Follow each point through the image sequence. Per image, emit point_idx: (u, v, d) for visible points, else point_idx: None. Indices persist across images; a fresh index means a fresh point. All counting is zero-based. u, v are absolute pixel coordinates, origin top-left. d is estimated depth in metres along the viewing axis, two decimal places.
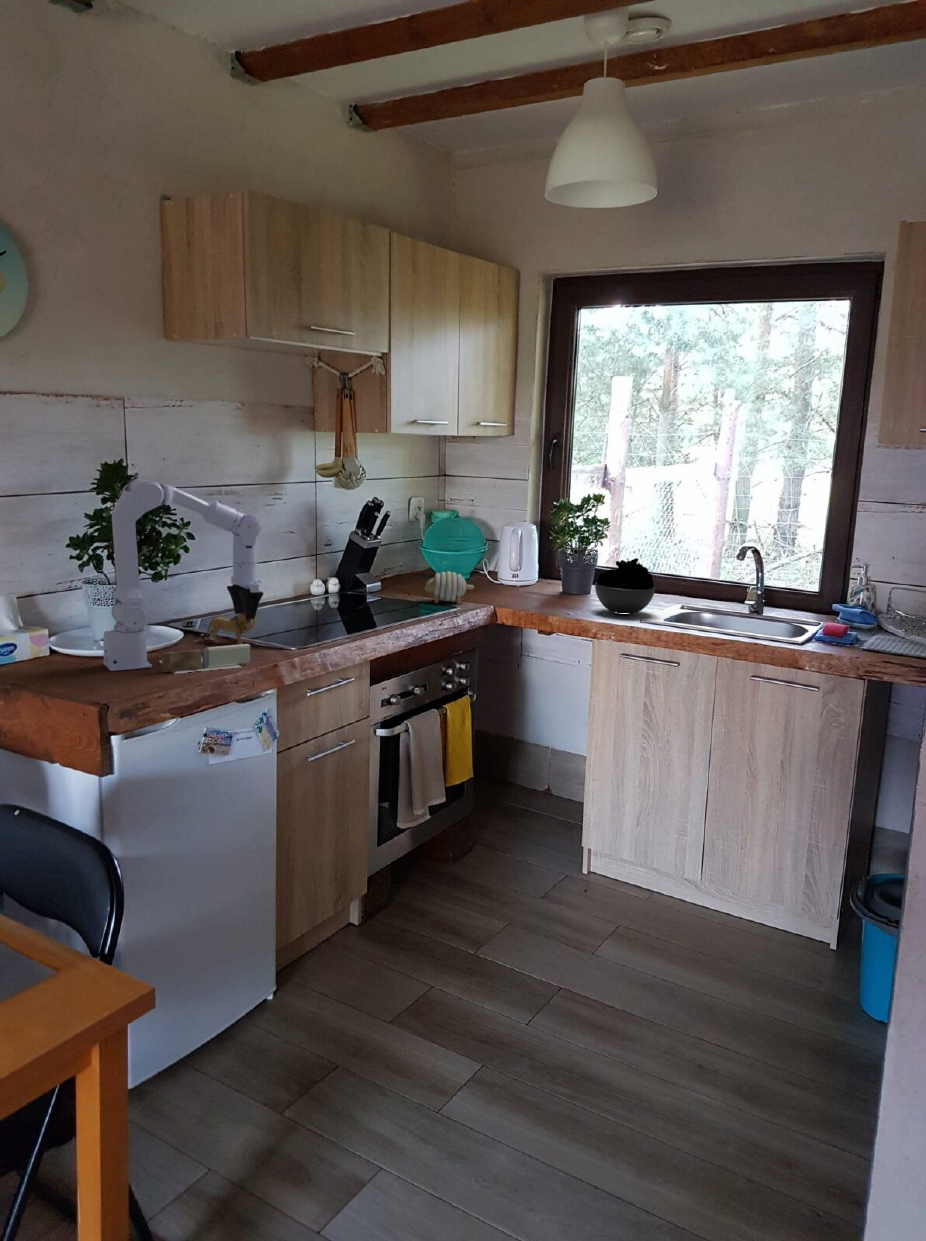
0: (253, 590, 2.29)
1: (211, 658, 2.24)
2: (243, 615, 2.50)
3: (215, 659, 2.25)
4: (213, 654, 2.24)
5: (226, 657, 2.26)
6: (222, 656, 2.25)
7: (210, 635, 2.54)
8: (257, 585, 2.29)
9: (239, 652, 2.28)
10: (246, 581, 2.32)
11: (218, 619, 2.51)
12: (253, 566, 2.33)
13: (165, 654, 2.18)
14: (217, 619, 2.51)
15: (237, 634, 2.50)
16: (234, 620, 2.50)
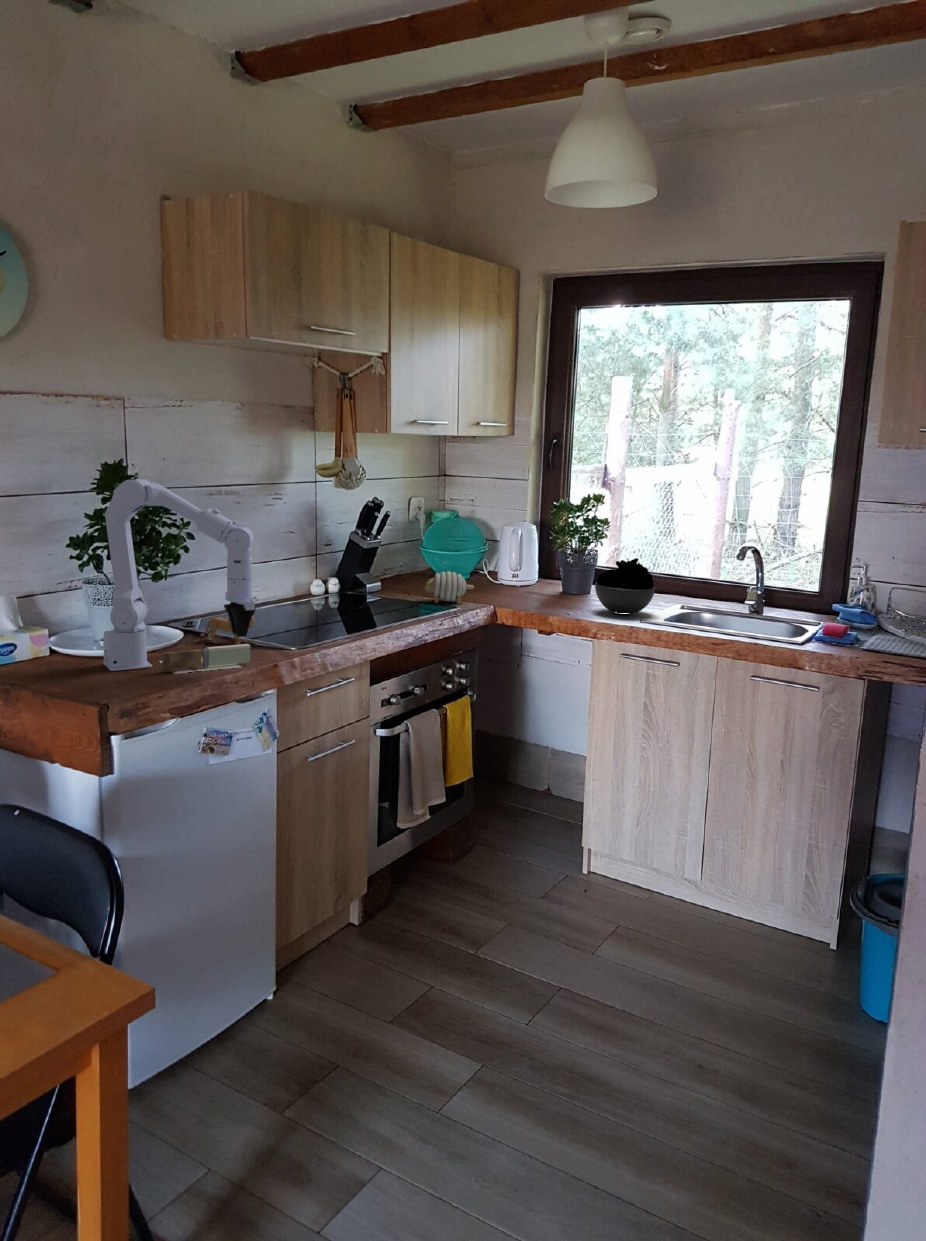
0: (248, 608, 2.16)
1: (211, 658, 2.24)
2: None
3: (215, 659, 2.25)
4: (213, 654, 2.24)
5: (226, 657, 2.26)
6: (222, 656, 2.25)
7: (208, 635, 2.54)
8: (252, 602, 2.16)
9: (239, 652, 2.28)
10: (241, 598, 2.19)
11: (216, 619, 2.50)
12: (248, 582, 2.19)
13: (165, 654, 2.18)
14: (215, 619, 2.50)
15: (234, 634, 2.50)
16: None
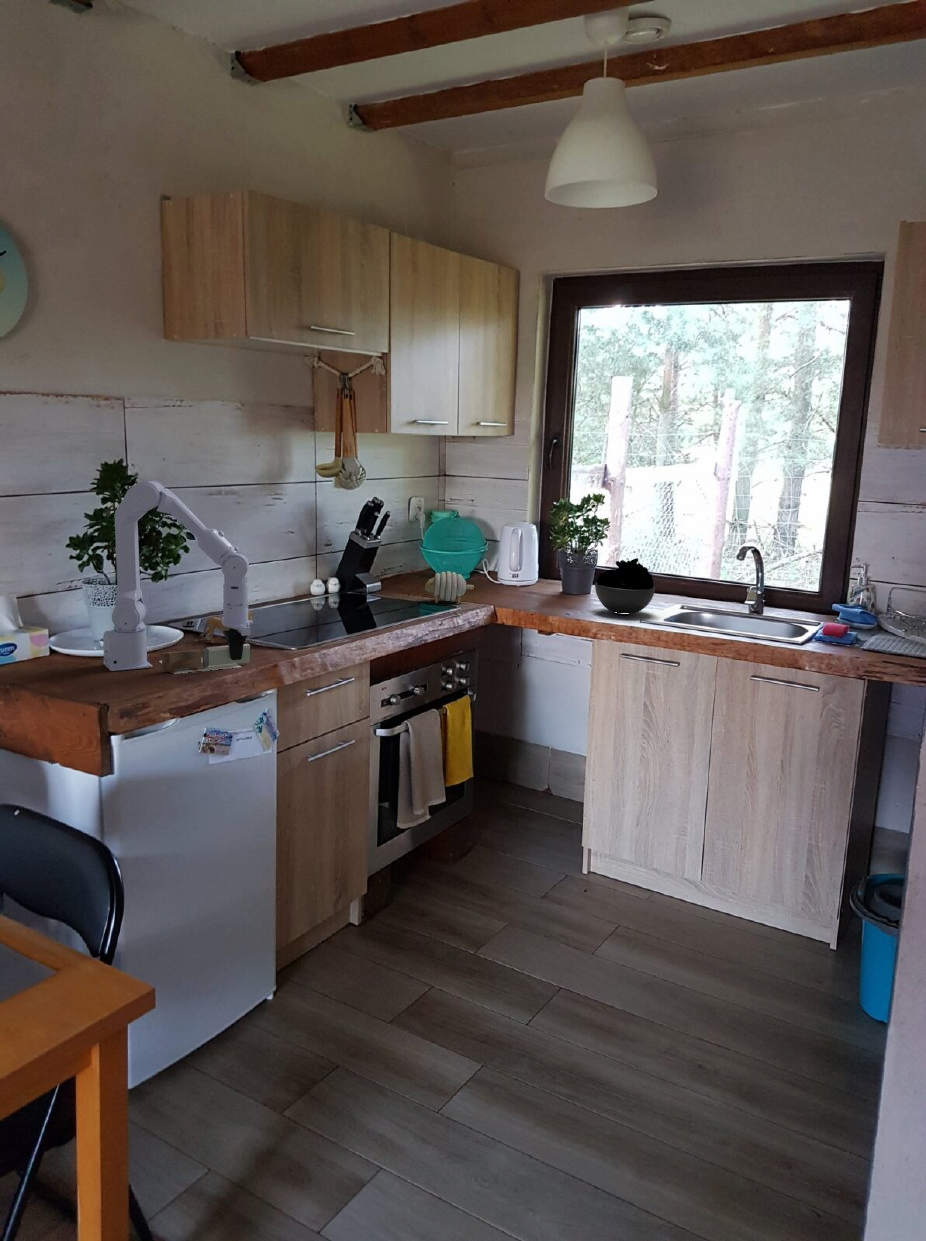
0: (244, 633, 2.19)
1: (211, 658, 2.24)
2: None
3: (215, 659, 2.25)
4: (213, 654, 2.24)
5: (226, 657, 2.26)
6: (222, 656, 2.26)
7: (206, 635, 2.54)
8: (248, 628, 2.19)
9: None
10: (237, 623, 2.22)
11: (214, 619, 2.50)
12: (244, 607, 2.23)
13: (165, 654, 2.18)
14: (213, 619, 2.50)
15: None
16: None
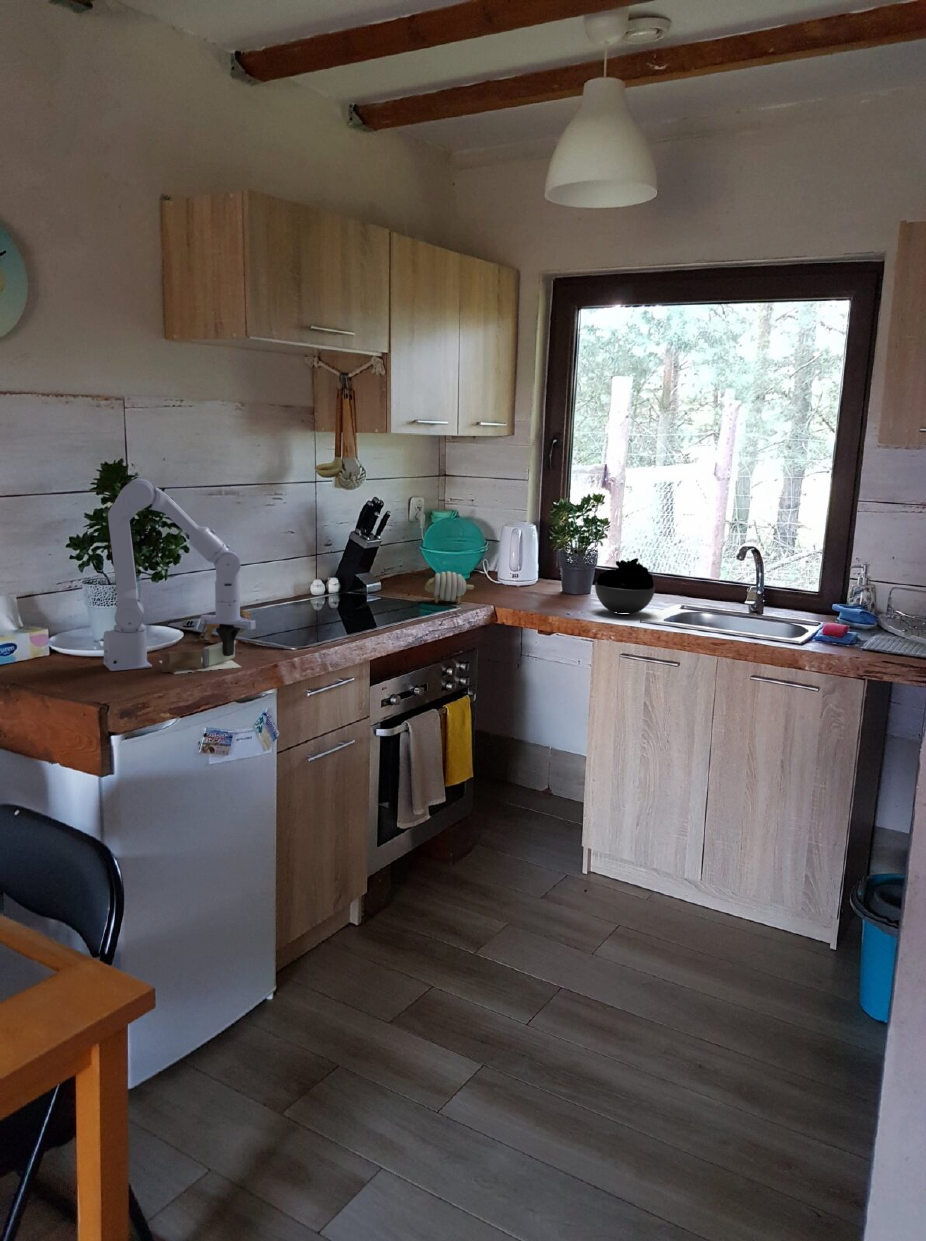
0: (252, 627, 2.25)
1: (210, 657, 2.25)
2: None
3: (213, 658, 2.26)
4: (212, 653, 2.25)
5: (220, 655, 2.28)
6: (217, 654, 2.27)
7: (205, 635, 2.54)
8: (254, 621, 2.26)
9: None
10: (236, 619, 2.26)
11: None
12: (239, 603, 2.28)
13: (165, 654, 2.18)
14: None
15: None
16: None
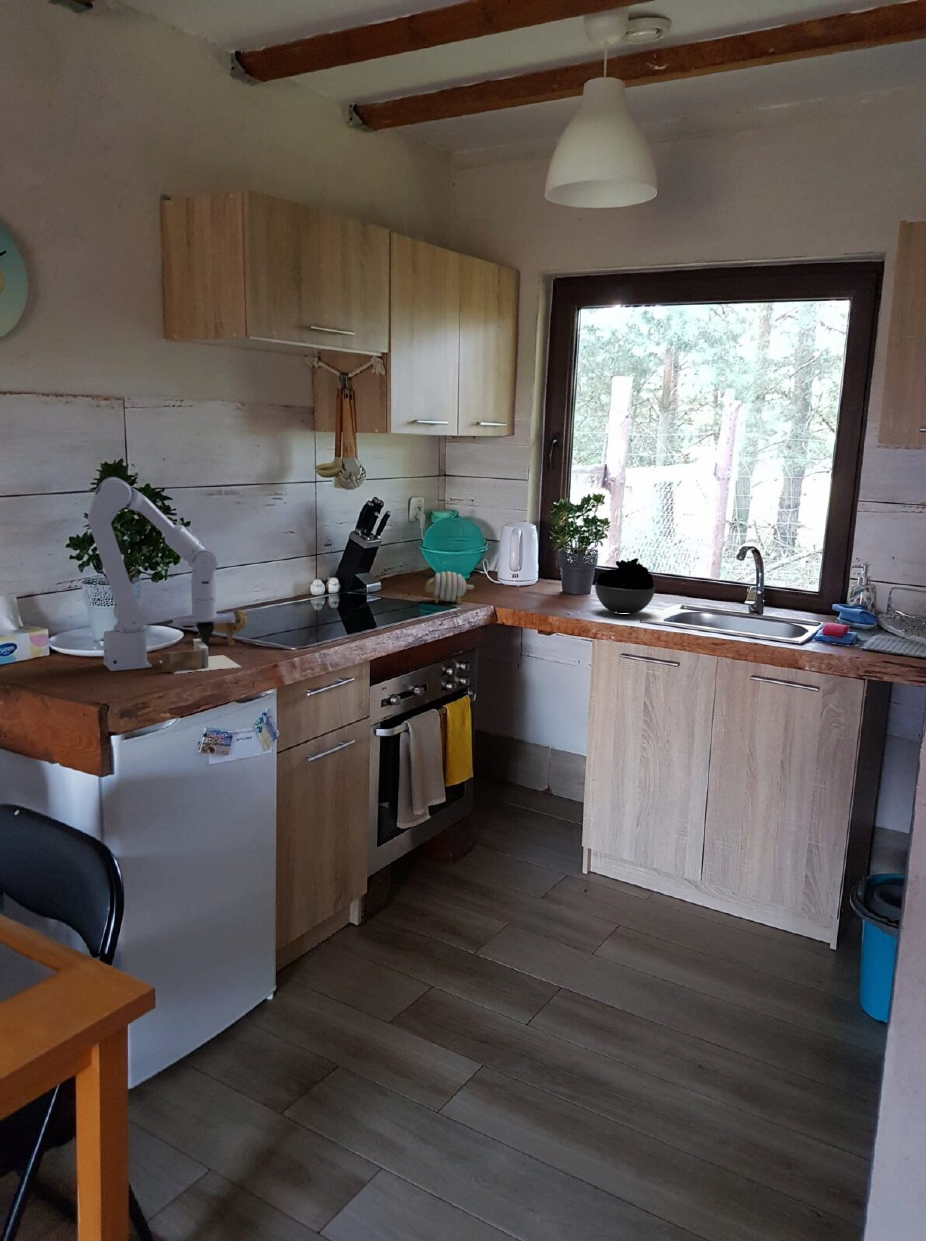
0: None
1: None
2: None
3: None
4: None
5: None
6: None
7: None
8: None
9: None
10: (216, 615, 2.29)
11: None
12: None
13: (165, 654, 2.18)
14: None
15: (227, 635, 2.49)
16: None
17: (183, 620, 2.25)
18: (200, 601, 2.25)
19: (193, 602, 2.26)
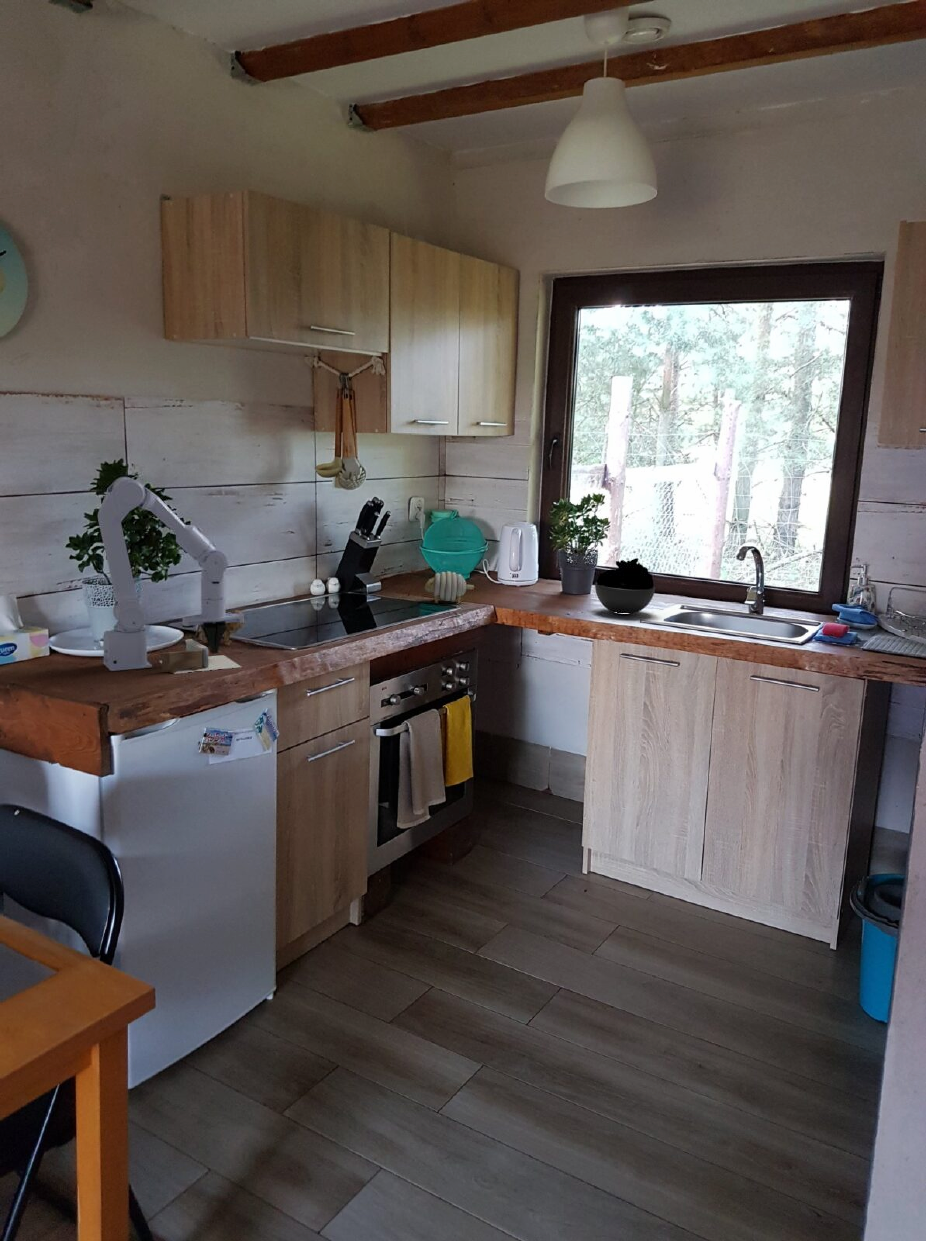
0: None
1: None
2: None
3: None
4: None
5: None
6: None
7: (200, 635, 2.53)
8: None
9: None
10: (225, 615, 2.31)
11: None
12: None
13: (165, 654, 2.18)
14: None
15: (224, 635, 2.49)
16: None
17: (193, 620, 2.27)
18: (211, 601, 2.27)
19: (203, 602, 2.27)
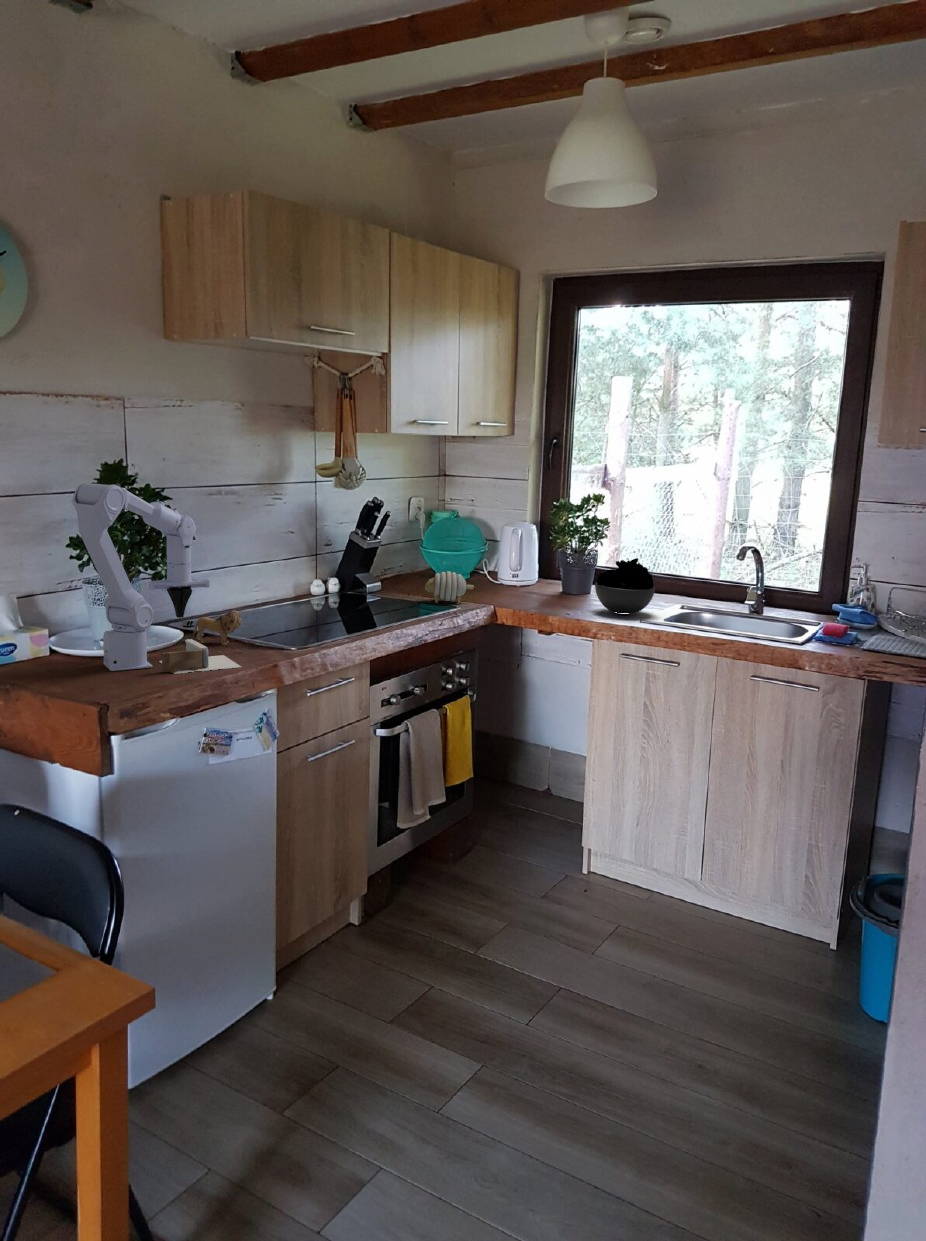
0: None
1: None
2: (227, 616, 2.48)
3: None
4: None
5: None
6: None
7: (197, 635, 2.53)
8: None
9: None
10: (191, 580, 2.35)
11: (203, 619, 2.50)
12: None
13: (165, 654, 2.18)
14: (203, 619, 2.50)
15: (221, 635, 2.49)
16: (219, 621, 2.49)
17: (159, 584, 2.31)
18: (176, 565, 2.31)
19: (169, 566, 2.31)
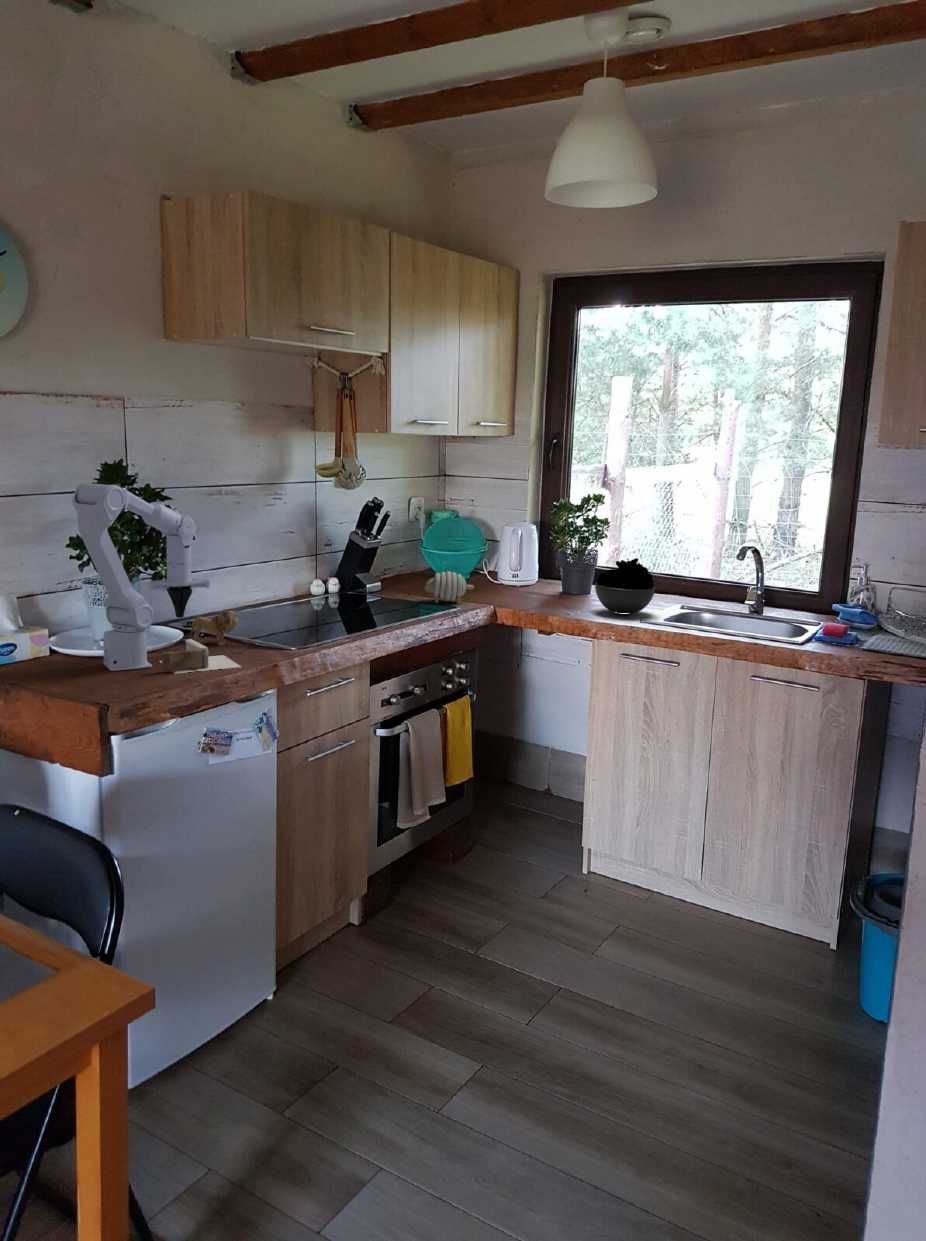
0: None
1: None
2: (223, 616, 2.48)
3: None
4: None
5: None
6: None
7: (194, 635, 2.53)
8: None
9: None
10: (191, 580, 2.35)
11: (200, 619, 2.50)
12: None
13: (165, 654, 2.18)
14: (199, 619, 2.50)
15: (216, 635, 2.48)
16: (215, 621, 2.48)
17: (159, 584, 2.31)
18: (176, 565, 2.31)
19: (169, 566, 2.31)
